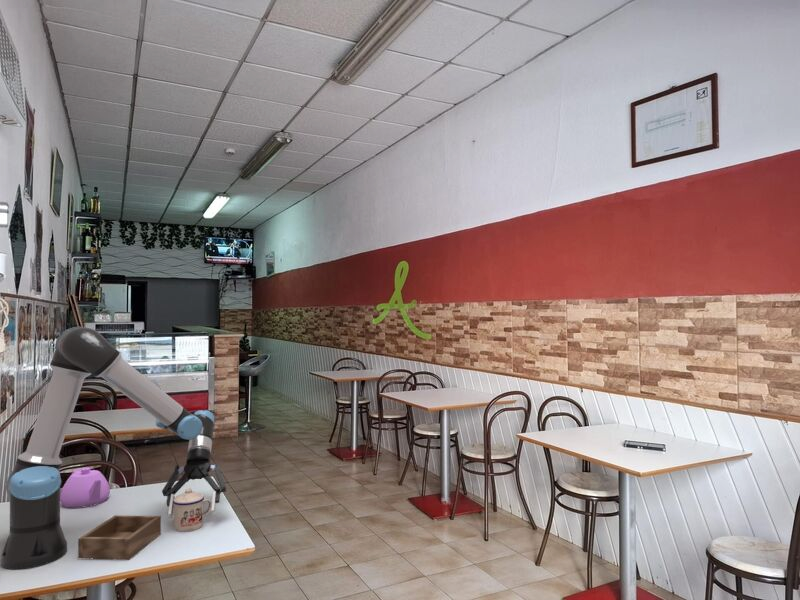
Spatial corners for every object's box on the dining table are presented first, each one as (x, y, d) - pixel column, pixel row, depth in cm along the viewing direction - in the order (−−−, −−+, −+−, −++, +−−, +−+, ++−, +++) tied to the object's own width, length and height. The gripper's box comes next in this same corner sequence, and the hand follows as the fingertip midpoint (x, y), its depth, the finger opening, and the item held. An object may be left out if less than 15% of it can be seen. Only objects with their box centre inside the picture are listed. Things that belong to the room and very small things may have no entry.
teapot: (49, 501, 198) (49, 467, 198) (95, 490, 210) (95, 458, 210) (74, 514, 184) (74, 478, 184) (121, 502, 196) (121, 468, 197)
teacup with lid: (179, 534, 166) (179, 496, 166) (168, 526, 173) (168, 489, 173) (217, 524, 174) (217, 487, 174) (205, 516, 181) (205, 481, 181)
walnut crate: (78, 558, 150) (78, 538, 150) (114, 533, 167) (114, 515, 167) (129, 559, 149) (129, 539, 149) (160, 534, 166) (160, 515, 167)
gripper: (237, 456, 191) (233, 516, 176) (163, 460, 186) (152, 522, 171) (235, 444, 186) (231, 505, 171) (159, 448, 181) (147, 511, 166)
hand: (191, 514), depth 171 cm, fingers open, 12 cm apart
